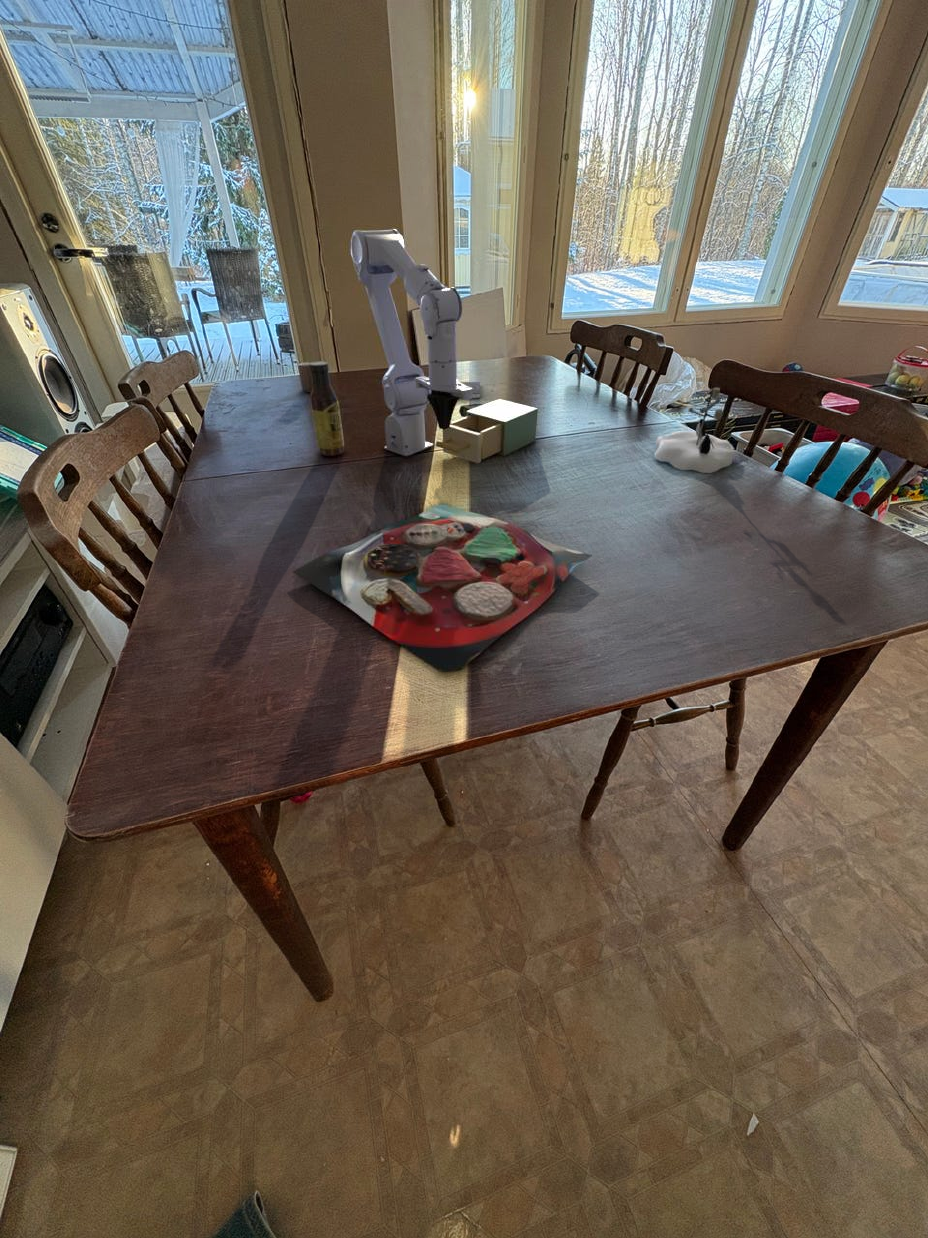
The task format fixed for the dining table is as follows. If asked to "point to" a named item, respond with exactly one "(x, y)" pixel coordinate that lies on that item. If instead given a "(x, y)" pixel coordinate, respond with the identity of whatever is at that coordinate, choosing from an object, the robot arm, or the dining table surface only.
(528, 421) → the cabinet
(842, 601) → the dining table surface
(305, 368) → the wooden block
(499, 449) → the drawer
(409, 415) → the robot arm
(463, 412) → the tape measure
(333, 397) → the sauce bottle
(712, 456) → the figurine
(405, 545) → the platter
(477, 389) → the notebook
